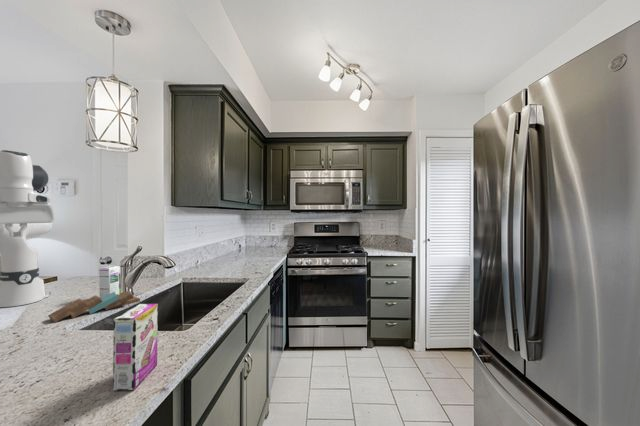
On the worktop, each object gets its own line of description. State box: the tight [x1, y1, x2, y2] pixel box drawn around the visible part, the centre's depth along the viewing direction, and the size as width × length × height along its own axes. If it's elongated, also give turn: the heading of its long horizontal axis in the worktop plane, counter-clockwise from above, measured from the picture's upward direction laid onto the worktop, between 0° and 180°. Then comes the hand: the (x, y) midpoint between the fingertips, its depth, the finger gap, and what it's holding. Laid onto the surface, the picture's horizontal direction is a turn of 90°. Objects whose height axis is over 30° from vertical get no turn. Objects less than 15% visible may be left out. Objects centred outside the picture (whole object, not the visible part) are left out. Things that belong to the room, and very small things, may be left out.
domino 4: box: [104, 289, 135, 311], centre depth 121 cm, size 2×5×10 cm
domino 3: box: [87, 292, 119, 315], centre depth 117 cm, size 2×5×10 cm
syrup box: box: [98, 265, 122, 298], centre depth 133 cm, size 6×6×14 cm
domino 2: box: [68, 294, 102, 319], centre depth 113 cm, size 2×5×10 cm
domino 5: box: [113, 295, 141, 309], centre depth 126 cm, size 2×5×10 cm
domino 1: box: [48, 298, 86, 324], centre depth 109 cm, size 2×5×10 cm
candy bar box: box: [112, 303, 159, 392], centre depth 70 cm, size 11×5×16 cm, turn 5°
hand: (16, 236), depth 101 cm, fingers closed
